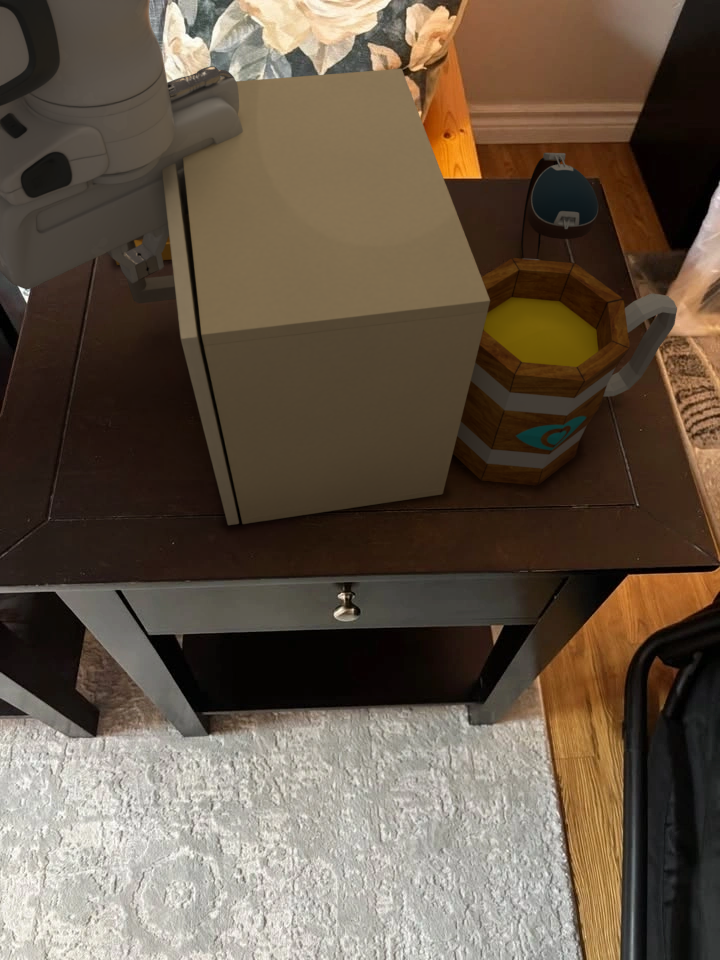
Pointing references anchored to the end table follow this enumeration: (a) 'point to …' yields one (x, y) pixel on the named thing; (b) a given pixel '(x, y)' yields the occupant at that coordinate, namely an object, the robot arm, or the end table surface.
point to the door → (189, 331)
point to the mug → (549, 366)
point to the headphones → (556, 204)
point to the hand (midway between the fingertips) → (143, 271)
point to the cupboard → (332, 295)
